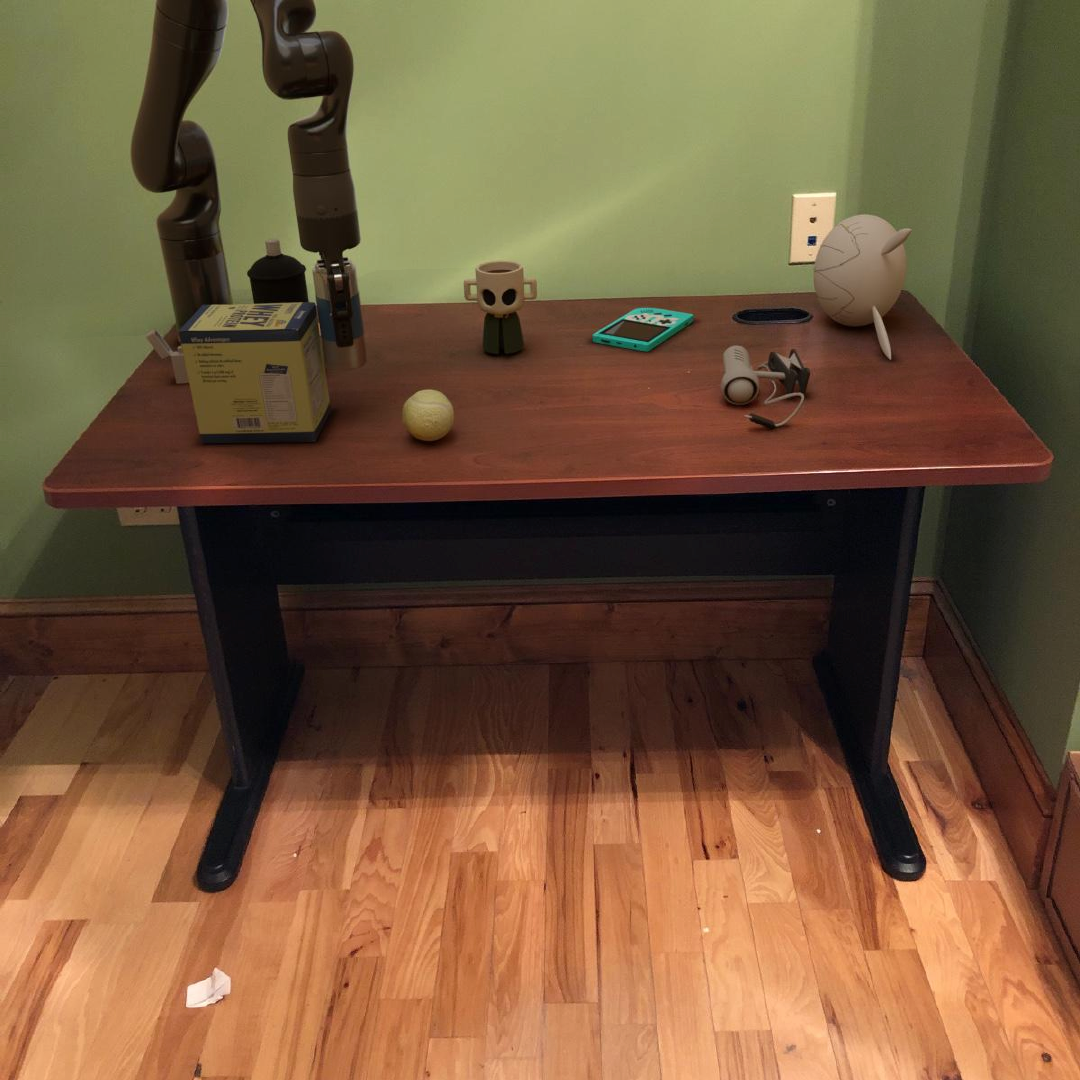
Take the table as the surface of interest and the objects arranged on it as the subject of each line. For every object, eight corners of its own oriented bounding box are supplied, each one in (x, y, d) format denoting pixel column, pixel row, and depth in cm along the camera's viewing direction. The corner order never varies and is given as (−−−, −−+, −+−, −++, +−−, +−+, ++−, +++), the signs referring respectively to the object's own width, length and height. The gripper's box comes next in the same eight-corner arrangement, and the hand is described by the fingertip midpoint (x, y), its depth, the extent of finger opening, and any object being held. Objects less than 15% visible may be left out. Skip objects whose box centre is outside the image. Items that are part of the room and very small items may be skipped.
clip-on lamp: (813, 449, 148) (796, 370, 161) (824, 410, 143) (806, 332, 157) (723, 443, 148) (713, 365, 161) (731, 403, 143) (720, 326, 157)
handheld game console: (695, 321, 184) (695, 313, 183) (648, 352, 172) (648, 344, 171) (640, 312, 189) (640, 304, 188) (591, 342, 177) (591, 333, 176)
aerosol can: (307, 387, 165) (288, 249, 155) (254, 384, 166) (232, 247, 156) (328, 366, 172) (310, 233, 162) (277, 364, 173) (256, 232, 163)
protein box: (220, 413, 157) (200, 303, 150) (332, 410, 157) (317, 300, 149) (198, 445, 148) (175, 330, 141) (317, 443, 148) (300, 327, 140)
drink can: (323, 358, 153) (309, 259, 147) (364, 353, 154) (353, 255, 148) (326, 373, 148) (312, 271, 142) (369, 368, 150) (357, 267, 143)
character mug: (465, 359, 172) (459, 274, 166) (470, 343, 178) (464, 260, 172) (537, 358, 172) (534, 273, 165) (540, 341, 178) (537, 259, 171)
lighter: (206, 377, 169) (196, 325, 165) (204, 382, 168) (194, 329, 164) (158, 380, 169) (147, 328, 165) (155, 384, 168) (144, 332, 164)
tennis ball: (460, 445, 146) (457, 396, 142) (409, 453, 144) (404, 404, 141) (450, 426, 151) (446, 378, 148) (400, 433, 149) (395, 385, 146)
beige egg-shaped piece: (804, 207, 181) (858, 225, 158) (889, 209, 182) (954, 227, 159) (791, 326, 188) (840, 360, 165) (872, 328, 189) (932, 361, 166)
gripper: (363, 218, 136) (378, 353, 144) (350, 192, 148) (365, 318, 156) (299, 224, 135) (318, 360, 143) (292, 198, 147) (310, 324, 155)
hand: (342, 337), depth 150 cm, fingers closed on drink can, 5 cm apart
